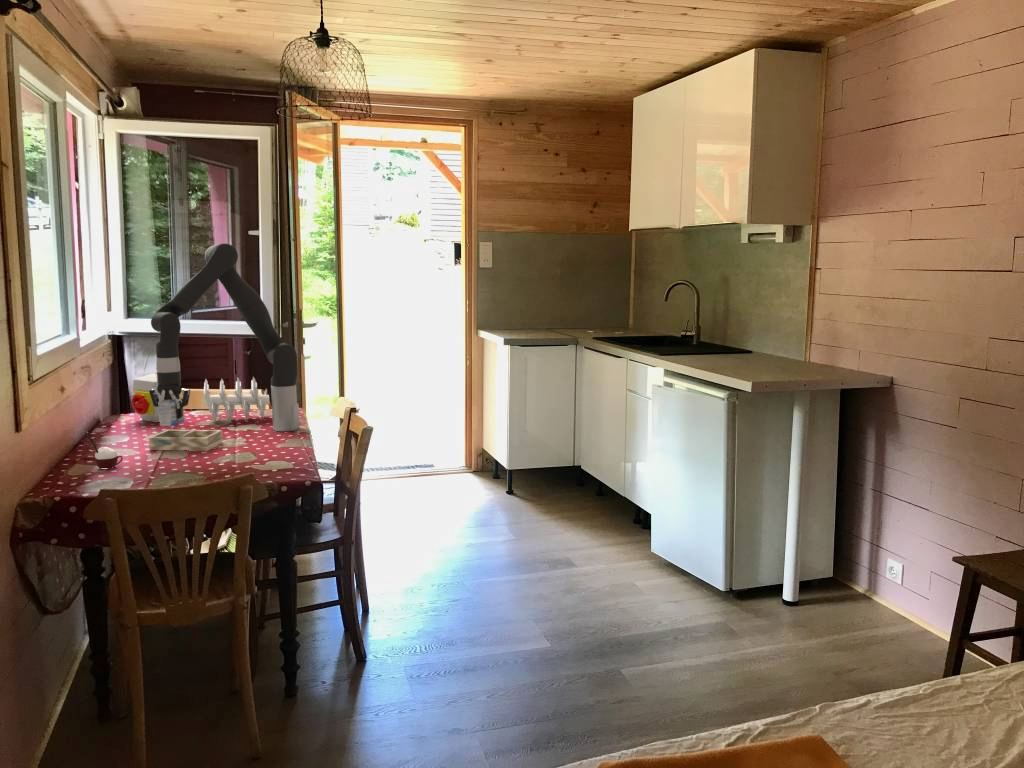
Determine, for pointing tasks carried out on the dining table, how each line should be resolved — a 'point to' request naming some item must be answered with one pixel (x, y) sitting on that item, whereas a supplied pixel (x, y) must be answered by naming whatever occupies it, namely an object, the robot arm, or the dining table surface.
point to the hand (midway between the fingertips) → (171, 418)
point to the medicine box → (168, 413)
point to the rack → (186, 440)
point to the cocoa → (105, 456)
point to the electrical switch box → (145, 397)
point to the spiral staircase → (234, 400)
